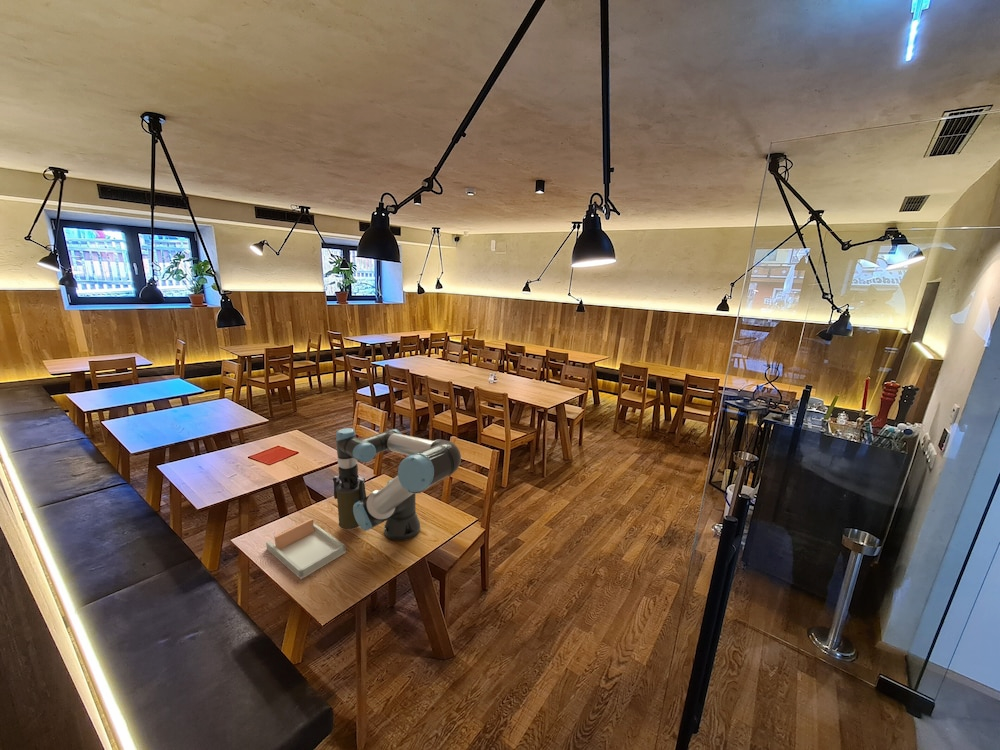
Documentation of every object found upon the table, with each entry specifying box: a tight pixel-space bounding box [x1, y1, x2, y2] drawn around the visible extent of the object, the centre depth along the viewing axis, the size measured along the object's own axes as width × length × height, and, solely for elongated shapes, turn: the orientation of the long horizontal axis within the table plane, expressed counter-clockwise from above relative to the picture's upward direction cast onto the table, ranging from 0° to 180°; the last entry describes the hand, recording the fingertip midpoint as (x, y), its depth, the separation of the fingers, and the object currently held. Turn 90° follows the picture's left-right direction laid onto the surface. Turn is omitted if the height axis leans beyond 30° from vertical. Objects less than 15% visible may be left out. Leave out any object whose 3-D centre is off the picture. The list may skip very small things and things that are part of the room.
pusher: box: [274, 517, 315, 550], centre depth 159 cm, size 7×15×6 cm, turn 144°
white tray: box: [265, 522, 347, 580], centre depth 153 cm, size 26×18×3 cm
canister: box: [336, 481, 361, 530], centre depth 165 cm, size 11×10×20 cm
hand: (351, 513), depth 167 cm, fingers open, 6 cm apart
